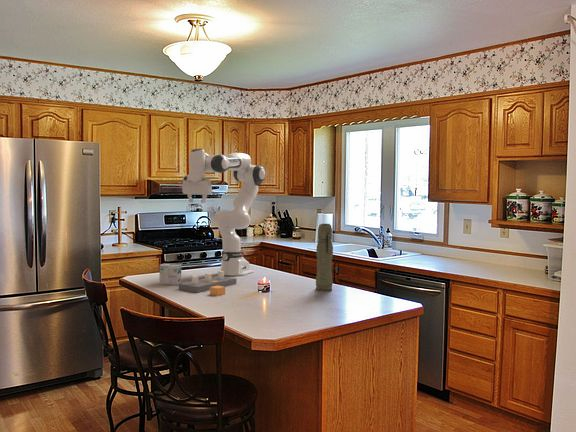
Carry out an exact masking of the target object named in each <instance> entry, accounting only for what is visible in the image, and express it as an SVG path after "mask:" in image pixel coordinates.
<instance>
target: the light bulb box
mask: <svg viewBox="0 0 576 432" xmlns="http://www.w3.org/2000/svg"><path fill="white" fill-rule="evenodd" d="M179 283H182V264H181V263H162V264H159V285H173V286H174V285H175V286H177V285H178V286H179Z"/></svg>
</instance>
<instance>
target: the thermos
mask: <svg viewBox="0 0 576 432" xmlns="http://www.w3.org/2000/svg"><path fill="white" fill-rule="evenodd" d="M332 239H333V228H332V224H330V223H320V224H319V225H318V228H317V244H316V248H315V249H316V251H315V252H316V276H315V290H316V291H320V292H329V291H332V290H333V277H334V276H333V273H332V271H333V264H332V263H333V257H334V251H333V250H334V245H333V242H332Z"/></svg>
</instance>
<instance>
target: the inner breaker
mask: <svg viewBox="0 0 576 432" xmlns="http://www.w3.org/2000/svg"><path fill="white" fill-rule="evenodd" d="M217 276H218V279H224V277H225V275H224V271H220V270H218V271H217Z"/></svg>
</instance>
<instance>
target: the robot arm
mask: <svg viewBox="0 0 576 432" xmlns="http://www.w3.org/2000/svg"><path fill="white" fill-rule="evenodd" d="M188 161H189V162H188V165H189V172H188V174H186V175H185V176H183V177H182V181H183V182H182V184H181V187H182V188H181V189H182V190H181V192H182V194H184V195H187V198H188V202H189V203H194V199H193V197H192V196H193V195H201V196H202V198H201V200H200V203H202V204H205V203H206V199H207V198H208V196H209V195H212V194H213V188H212V187H213V186H212V179H210V178H209V177H206V173H219V174H221V173H223V174H224V173H225V172H227V170H228V171H233V173H232V176H233V178H234V180H235V181H236V182H239V183H243V185H242V186H241V188H240V190H239V191H238V193H237V194H236V196H235V197H234V199H233V200H232V204H233V207H234V209H233V210H226V209H225V210H224V209H223V210H218V211H217V212H215V213H214V215H213V222H214V225H215V226H216V227H217V228H218V231H219V232H220V234H221V235H220V236H221V240H222V250H221V257H222V258H221V262H220V270H219V271H224V276H228V277H229V276H230V277H231V276H246V275H249V274H252V273H254V271H255V270H254V269H251V265H250V262H249V261H248V260H247V259H245V257H244V256H243V255H245V254H246V251H243V250H241V247H242V244H241V241H242V239H241V237H240V236H239V235H238V234H237V231H235V230H242V229H247V228H249V226H250V224H251V222H252V221H251V216H250V214H249V210H250V209H251V206H252V205H253V203H254V201H255V200H256V198H257V195H258V192H259V186H260V185H261V184H262V183H263V182H264V181H265V179H266V176H267V172H266V169H265V167H263V166H262V165H259V164H258V165H254V164H252V159H251V157H250V155H249V154H247V153H243V152H231V153H228V154H226V155H224V154H213V155H211V154H208V153H206V151H205V149H204V148H193V149H191V150H190V153H189V157H188Z"/></svg>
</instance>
